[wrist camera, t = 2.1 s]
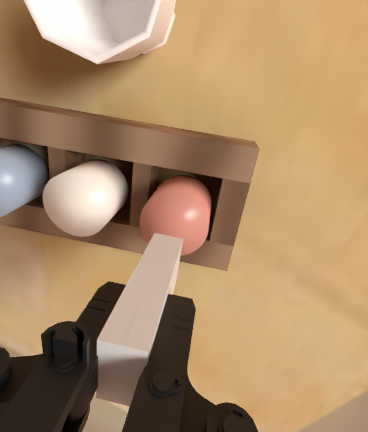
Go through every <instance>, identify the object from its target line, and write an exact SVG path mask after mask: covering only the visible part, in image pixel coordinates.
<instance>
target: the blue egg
mask: <svg viewBox="0 0 368 432" xmlns="http://www.w3.org/2000/svg"><path fill="white" fill-rule="evenodd" d="M48 181H49V173H48V170H47V167H46V165H45V163H44V162H43V160H42V159H41V158H40V156H39V155H38V154H37V153H35V152H34V151H33V150H31V149H30V148H28V147H26V146H23V145H19V144H12V145H7V146H3V147H0V217H2V216H4V215H6V214H8V213H10V212H12V211H14V210H15V209H17V208H19V207H21V206H23V205H25V204H27V203H28V202H30V201H32V200H34V199H36V198H38V197H39V196H41V195H43V191H44V188H45V186H46V184H47V183H48Z"/></svg>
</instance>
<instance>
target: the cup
mask: <svg viewBox="0 0 368 432" xmlns="http://www.w3.org/2000/svg"><path fill="white" fill-rule="evenodd" d="M24 2H25V4H26V6H27V8H28V10H29V12H30V14H31V16H32V18H33V20H34V22H35V24H36V26H37V28H38V30H39V32H40V34H41V36H42V38H44V39H46V40H48V41H50V42H52V43H54V44H56V45H59V46H61V47H63V48H65V49H67V50H69V51H71V52H73V53H75V54H77V55H79V56H81V57H83V58H86V59H88V60H90V61H92V62H94V63H96V64H103V63H110V62H115V61H122V60H130V59H132V58H134V57H136V56H138V55H140V54H143V55H146V54H148V53H150V52H152V51H154V50H156V49H158V48H160V47H162V46H163V45H165V44H166V43H167V40H168V37H169V34H170V31H171V28H172V25H173V22H174V19H175V14H174V7H175V3H176V0H24Z"/></svg>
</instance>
